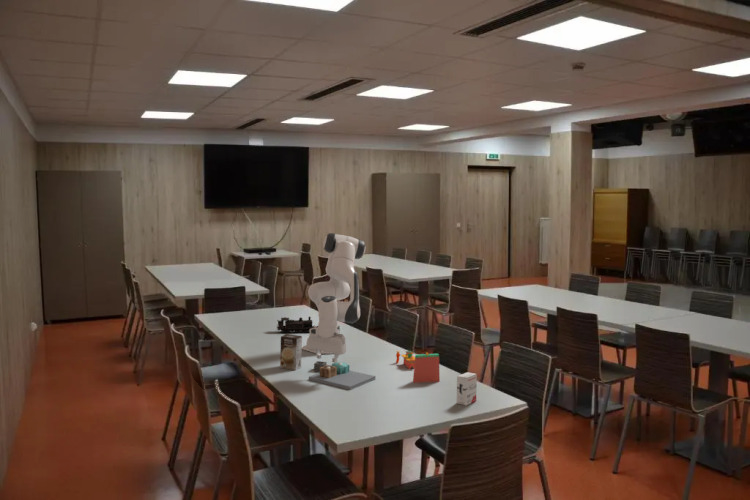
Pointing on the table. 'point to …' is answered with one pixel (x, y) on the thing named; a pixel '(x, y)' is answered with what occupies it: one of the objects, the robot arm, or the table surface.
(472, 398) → the ink box
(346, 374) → the gear board
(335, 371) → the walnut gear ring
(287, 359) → the coffee box
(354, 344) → the table surface
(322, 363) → the dark gray block
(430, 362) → the toy building block set
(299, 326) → the toy train
